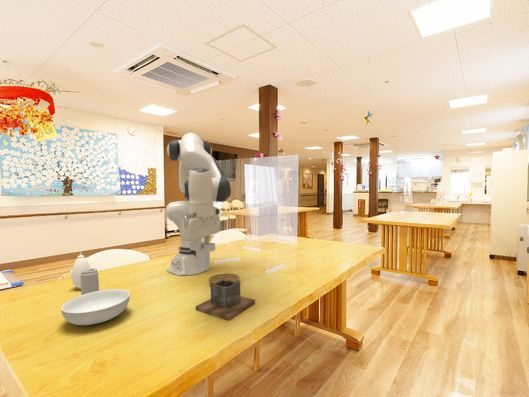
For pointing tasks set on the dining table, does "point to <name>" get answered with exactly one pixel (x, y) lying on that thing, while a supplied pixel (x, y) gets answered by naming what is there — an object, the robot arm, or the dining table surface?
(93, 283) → the beverage can
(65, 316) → the serving bowl
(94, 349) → the dining table surface
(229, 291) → the square pot on base
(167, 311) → the dining table surface
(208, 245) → the grey t-shaped peg
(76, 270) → the sauce bottle
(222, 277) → the plant saucer
